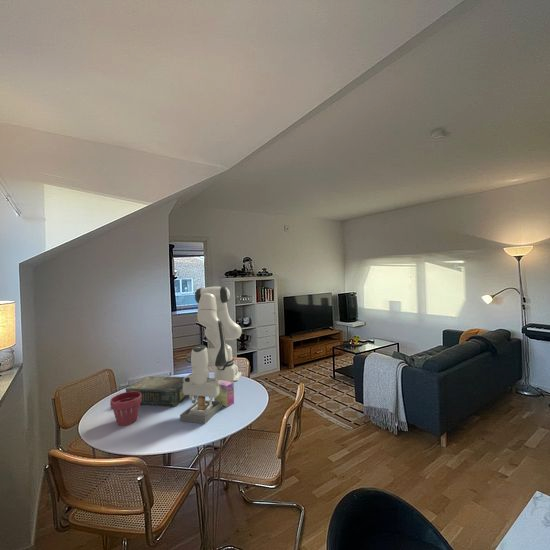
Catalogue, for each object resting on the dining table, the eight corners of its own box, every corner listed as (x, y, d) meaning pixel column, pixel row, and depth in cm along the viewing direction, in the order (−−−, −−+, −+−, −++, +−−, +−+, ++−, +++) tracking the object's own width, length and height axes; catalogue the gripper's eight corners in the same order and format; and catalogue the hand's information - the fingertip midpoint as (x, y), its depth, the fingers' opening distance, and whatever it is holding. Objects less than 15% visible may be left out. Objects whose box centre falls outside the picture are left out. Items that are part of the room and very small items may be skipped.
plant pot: (104, 428, 141) (103, 402, 141) (123, 414, 155) (122, 390, 155) (131, 429, 139) (130, 402, 139) (148, 415, 153) (147, 391, 153)
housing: (199, 405, 162) (199, 398, 162) (221, 407, 158) (221, 400, 158) (180, 420, 145) (180, 413, 145) (205, 423, 141) (204, 416, 141)
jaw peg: (200, 409, 154) (199, 394, 154) (207, 410, 153) (206, 395, 153) (196, 413, 150) (195, 397, 150) (203, 414, 149) (202, 398, 149)
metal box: (175, 408, 161) (174, 390, 161) (124, 405, 167) (124, 387, 167) (193, 392, 182) (193, 376, 182) (147, 390, 188) (147, 375, 188)
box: (234, 403, 163) (233, 382, 163) (227, 407, 158) (226, 385, 158) (221, 399, 169) (220, 379, 169) (214, 403, 164) (213, 382, 164)
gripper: (221, 376, 152) (222, 402, 152) (187, 374, 158) (188, 399, 158) (215, 380, 146) (216, 408, 146) (180, 378, 152) (181, 404, 152)
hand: (201, 403), depth 152 cm, fingers open, 8 cm apart
